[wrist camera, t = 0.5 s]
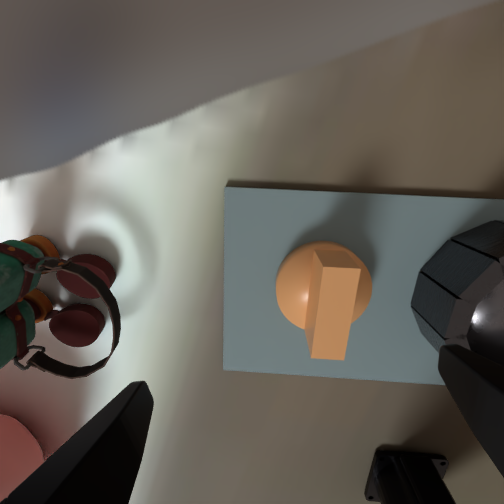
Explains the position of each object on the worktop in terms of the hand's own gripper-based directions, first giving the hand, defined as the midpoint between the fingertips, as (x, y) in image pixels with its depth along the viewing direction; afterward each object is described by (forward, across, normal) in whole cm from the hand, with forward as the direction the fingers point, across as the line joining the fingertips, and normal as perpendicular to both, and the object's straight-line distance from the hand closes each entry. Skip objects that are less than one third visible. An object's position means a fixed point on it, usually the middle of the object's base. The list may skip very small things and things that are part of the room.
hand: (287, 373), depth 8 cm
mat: (+11, -8, +6) cm, 15 cm away
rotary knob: (+11, -3, +3) cm, 12 cm away
